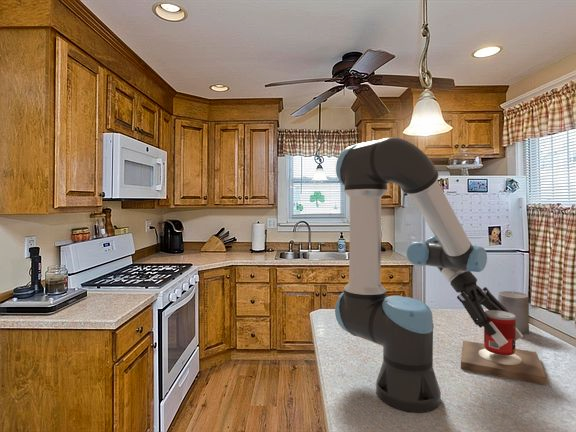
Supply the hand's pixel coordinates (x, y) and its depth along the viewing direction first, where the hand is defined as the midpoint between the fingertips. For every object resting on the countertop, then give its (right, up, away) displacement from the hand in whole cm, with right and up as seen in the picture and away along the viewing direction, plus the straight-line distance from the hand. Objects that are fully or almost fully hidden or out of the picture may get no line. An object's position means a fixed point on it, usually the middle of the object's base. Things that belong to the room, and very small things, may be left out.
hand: (511, 341), depth 100 cm
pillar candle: (+21, -7, +31) cm, 38 cm away
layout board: (-2, -8, +3) cm, 8 cm away
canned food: (-2, -4, +3) cm, 5 cm away
